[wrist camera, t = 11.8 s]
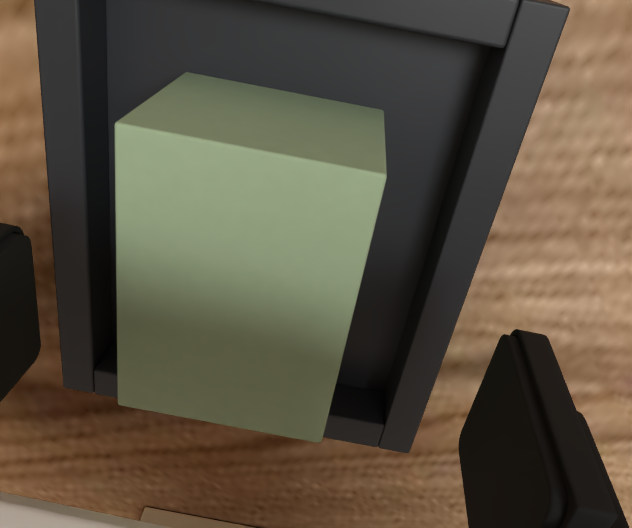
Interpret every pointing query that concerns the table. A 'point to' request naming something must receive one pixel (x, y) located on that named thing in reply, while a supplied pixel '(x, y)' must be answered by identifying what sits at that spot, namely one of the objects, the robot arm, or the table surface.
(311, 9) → the dock
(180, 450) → the table surface
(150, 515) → the beige button base
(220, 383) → the sage green block
